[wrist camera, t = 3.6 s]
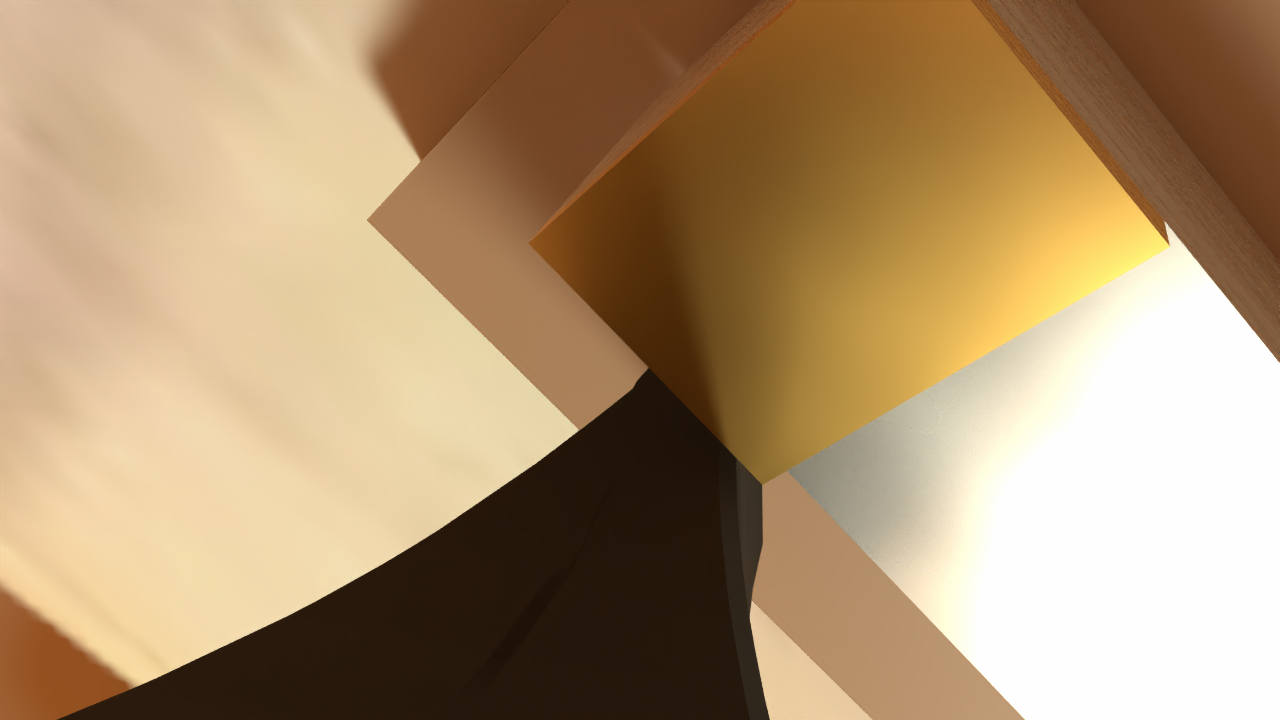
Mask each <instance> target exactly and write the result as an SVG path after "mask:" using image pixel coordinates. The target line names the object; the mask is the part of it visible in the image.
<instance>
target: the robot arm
mask: <svg viewBox="0 0 1280 720" xmlns="http://www.w3.org/2000/svg"><path fill="white" fill-rule="evenodd" d="M762 545H763V506H762V484H761V483H760V482H759V481H758V480H757V479H756V478H755V477H754V476H753V475H752V474H751V473H750V472H749V470H748V469H747V468H746V467H745V466H744V465H743V464H742V463H741V462H740V461H739V460H738V459H737V458H736V457H735V456H734V455H733V454H732V453H731V452H730V451H729V450H728V449H727V448H726V447H725V446H724V445H723V444H722V443H721V442H720V441H719V440H718V439H717V437H716V436H715V435H714V434H713V433H712V432H711V431H710V430H709V429H708V428H707V427H706V426H705V425H704V424H703V423H702V422H701V421H700V420H699V419H698V418H697V417H696V416H695V415H694V414H693V413H692V412H691V411H690V410H689V409H688V408H687V407H686V405H685V404H684V403H683V402H682V401H681V400H680V399H679V398H678V397H677V396H676V395H675V394H674V393H673V392H672V391H671V390H670V389H669V388H668V387H667V386H666V385H665V384H664V383H663V382H662V381H661V380H660V379H659V378H658V377H657V376H656V375H655V374H654V372H653V371H652V370H651V369H650V368H648V369H647V370H646V371H645V372H644V373H643V375H642V376H641V377H640V378H639V379H638V380H637V382H636V383H635V385H634V387H633V389H631V390H630V391H629V392H628V393H626V394H625V395H624V396H623V397H621V398H620V399H619V400H618V401H616V402H615V403H614V404H613V405H611V406H610V407H609V408H608V409H606V410H605V411H604V412H603V413H601V414H600V415H599V416H598V417H596V418H595V419H594V420H592V421H591V422H590V423H588V424H587V425H586V426H585V427H583V428H582V429H581V430H579V431H578V432H577V433H575V434H574V435H573V436H572V437H570V438H569V439H568V440H566V441H565V442H564V443H562V444H561V445H560V446H558V447H557V448H556V449H555V450H553V451H552V452H551V453H549V454H548V455H547V456H545V457H544V458H543V459H541V460H540V461H539V462H537V463H536V464H535V465H533V466H532V467H530V468H529V469H527V470H526V471H524V472H523V473H521V474H520V475H519V476H517V477H516V478H514V479H513V480H511V481H510V482H508V483H507V484H505V485H504V486H502V487H501V488H500V489H498V490H497V491H495V492H494V493H492V494H491V495H489V496H488V497H486V498H485V499H483V500H482V501H481V502H479V503H478V504H476V505H475V506H473V507H472V508H470V509H469V510H467V511H466V512H464V513H463V514H462V515H460V516H459V517H457V518H456V519H454V520H453V521H451V522H450V523H448V524H447V525H445V526H444V527H443V528H441V529H440V530H438V531H436V532H435V533H433V534H432V535H430V536H428V537H427V538H425V539H424V540H422V541H420V542H419V543H417V544H416V545H414V546H412V547H411V548H409V549H407V550H406V551H404V552H402V553H401V554H399V555H397V556H396V557H394V558H392V559H391V560H389V561H387V562H386V563H384V564H382V565H381V566H379V567H377V568H375V569H373V570H372V571H370V572H368V573H366V574H364V575H363V576H361V577H359V578H357V579H355V580H354V581H352V582H350V583H348V584H346V585H345V586H343V587H341V588H339V589H337V590H336V591H334V592H332V593H330V594H328V595H327V596H325V597H323V598H321V599H319V600H318V601H316V602H314V603H312V604H310V605H308V606H306V607H304V608H302V609H300V610H299V611H297V612H295V613H293V614H291V615H289V616H287V617H285V618H283V619H281V620H278V621H276V622H274V623H272V624H270V625H268V626H266V627H264V628H262V629H259V630H257V631H255V632H253V633H251V634H249V635H247V636H245V637H243V638H240V639H238V640H236V641H234V642H232V643H230V644H228V645H226V646H224V647H221V648H219V649H217V650H215V651H213V652H211V653H209V654H207V655H205V656H202V657H200V658H198V659H196V660H194V661H192V662H190V663H188V664H186V665H183V666H181V667H179V668H177V669H175V670H173V671H171V672H169V673H167V674H164V675H162V676H160V677H158V678H156V679H154V680H151V681H149V682H147V683H144V684H142V685H140V686H137V687H135V688H133V689H130V690H128V691H126V692H123V693H121V694H118V695H116V696H114V697H111V698H109V699H106V700H104V701H101V702H99V703H96V704H94V705H92V706H89V707H87V708H85V709H82V710H80V711H77V712H75V713H72V714H70V715H68V716H65V717H62V718H60V719H58V720H770V719H769V715H768V710H767V706H766V702H765V698H764V693H763V687H762V682H761V677H760V672H759V667H758V662H757V657H756V652H755V647H754V641H753V636H752V630H751V624H750V618H749V617H750V608H751V600H752V593H753V586H754V582H755V577H756V573H757V568H758V563H759V559H760V554H761V550H762Z"/></svg>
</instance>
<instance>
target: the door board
mask: <svg viewBox="0 0 1280 720" xmlns="http://www.w3.org/2000/svg"><path fill="white" fill-rule="evenodd" d="M760 1H761V0H570V1H569V2H568V3H567V4H566V5H565V6H564V7H563V9H562V10H561V11H560V12H559V13H558V14H557V15H556V16H555V17H554V18H553V19H552V20H551V22H550V23H549V24H548V25H547V26H546V27H545V28H544V29H543V30H542V31H541V32H540V33H539V34H538V36H537V37H536V38H535V39H534V40H533V41H532V42H531V43H530V44H529V45H528V46H527V47H526V49H525V50H524V51H523V52H522V53H521V54H520V55H519V56H518V57H517V58H516V59H515V60H514V62H513V63H512V64H511V65H510V66H509V67H508V68H507V69H506V70H505V71H504V72H503V73H502V74H501V76H500V77H499V78H498V79H497V80H496V81H495V82H494V83H493V84H492V85H491V86H490V87H489V89H488V90H487V91H486V92H485V93H484V94H483V95H482V96H481V97H480V98H479V99H478V100H477V102H476V103H475V104H474V105H473V106H472V107H471V108H470V109H469V110H468V111H467V112H466V113H465V114H464V116H463V117H462V118H461V119H460V120H459V121H458V122H457V123H456V124H455V125H454V126H453V127H452V129H451V130H450V131H449V132H448V133H447V134H446V135H445V136H444V137H443V138H442V139H441V140H440V142H439V143H438V144H437V145H436V146H435V147H434V148H433V149H432V150H431V151H430V152H429V153H428V154H427V156H426V157H425V158H424V159H423V160H422V161H421V162H420V163H419V164H418V165H417V166H416V167H415V169H414V170H413V171H412V172H411V173H410V174H409V175H408V176H407V177H406V178H405V179H404V180H403V182H402V183H401V184H400V185H399V186H398V187H397V188H396V189H395V190H394V191H393V192H392V193H391V194H390V196H389V197H388V198H387V199H386V200H385V201H384V202H383V203H382V204H381V205H380V206H379V207H378V209H377V210H376V211H375V212H374V213H373V214H372V215H371V216H370V217H369V218H368V219H367V221H368V222H369V223H370V224H371V225H372V226H373V227H374V228H375V229H376V230H377V231H378V232H379V233H380V234H381V235H382V236H383V237H384V238H385V239H386V240H387V241H388V242H390V243H391V244H392V245H393V246H394V247H395V248H396V249H397V250H398V251H399V252H400V253H401V254H402V255H403V256H404V257H405V258H406V259H407V260H408V261H409V262H410V263H411V264H412V265H413V266H414V267H415V268H416V269H417V270H418V271H419V272H420V273H421V274H422V275H423V276H424V277H425V278H426V279H427V280H428V281H429V282H430V283H431V284H432V285H433V286H434V287H435V288H436V289H437V290H438V291H439V292H440V293H441V294H442V295H443V296H444V297H445V298H446V299H447V300H448V301H449V302H450V303H451V304H452V305H453V306H454V307H455V308H456V309H457V310H458V311H459V312H460V313H461V314H462V315H463V316H464V317H465V318H466V319H468V320H469V321H470V322H471V323H472V324H473V325H474V326H475V327H476V328H477V329H478V330H479V331H480V332H481V333H482V334H483V335H484V336H485V337H486V338H487V339H488V340H489V341H490V342H491V343H492V344H493V345H494V346H495V347H496V348H497V349H498V350H499V351H500V352H501V353H502V354H503V355H504V356H505V357H506V358H507V359H508V360H509V361H510V362H511V363H512V364H513V365H514V366H515V367H516V368H517V369H518V370H519V371H520V372H521V373H522V374H523V375H524V376H525V377H526V378H527V379H528V380H529V381H530V382H531V383H532V384H533V385H534V386H535V387H536V388H537V389H538V390H539V391H540V392H541V393H542V394H543V395H544V396H546V397H547V398H548V399H549V400H550V401H551V402H552V403H553V404H554V405H555V406H556V407H557V408H558V409H559V410H560V411H561V412H562V413H563V414H564V415H565V416H566V417H567V418H568V419H569V420H570V421H571V422H572V423H573V424H574V425H575V426H576V427H577V428H578V429H579V430H581V429H582V428H583V427H585V426H586V425H587V424H588V423H590V422H591V421H592V420H594V419H595V418H596V417H598V416H599V415H600V414H601V413H603V412H604V411H605V410H606V409H608V408H609V407H610V406H611V405H613V404H614V403H615V402H616V401H618V400H619V399H620V398H621V397H623V396H624V395H625V394H626V393H628V392H629V391H630V390H631V389H633V387H634V385H635V383H636V382H637V380H638V379H639V378H640V377H641V376H642V375H643V373H644V372H645V371H646V370H647V369H648V368H649V367H648V366H647V365H646V364H645V363H644V362H643V361H642V360H641V359H640V358H639V357H638V356H637V355H636V354H635V353H634V352H633V351H632V350H631V349H630V348H629V347H628V346H627V345H626V344H625V343H624V342H623V340H622V339H621V338H620V337H619V336H618V335H617V334H616V333H615V332H614V331H613V330H612V329H611V328H610V327H609V326H608V325H607V324H606V323H605V322H604V321H603V320H602V319H601V318H600V317H599V316H598V315H597V314H596V313H595V312H594V311H593V310H592V309H591V307H590V306H589V305H588V304H587V303H586V302H585V301H584V300H583V299H582V298H581V297H580V296H579V295H578V294H577V293H576V292H575V291H574V290H573V289H572V288H571V287H570V286H569V285H568V284H567V283H566V282H565V281H564V280H563V279H562V278H561V277H560V275H559V274H558V273H557V272H556V271H555V270H554V269H553V268H552V267H551V266H550V265H549V264H548V263H547V262H546V261H545V260H544V259H543V258H542V257H541V256H540V255H539V254H538V253H537V252H536V251H535V250H534V249H533V248H532V247H531V246H530V245H529V244H528V243H529V242H530V241H531V240H532V238H533V237H534V236H535V235H536V234H537V233H538V232H539V231H540V229H541V228H542V227H543V226H544V225H545V224H546V223H547V222H548V220H549V219H550V218H551V217H552V216H553V215H554V214H555V212H556V211H557V210H558V209H559V208H560V207H561V206H562V205H563V203H564V202H565V201H566V200H567V199H568V198H569V197H570V196H571V194H572V193H573V192H574V191H575V190H576V189H577V188H578V186H579V185H580V184H581V183H582V182H583V181H584V180H585V179H586V177H587V176H588V175H589V174H590V173H591V172H592V171H593V170H594V168H595V167H596V166H597V165H598V164H599V163H600V162H601V160H602V159H603V158H604V157H605V156H606V155H607V154H608V153H609V151H610V150H611V149H612V148H613V147H614V146H615V145H616V144H617V142H618V141H619V140H620V139H621V138H622V137H623V136H624V134H625V133H626V132H627V131H628V130H629V129H630V128H631V127H632V125H633V124H634V123H635V122H636V121H637V120H638V119H639V117H640V116H641V115H642V114H643V113H644V112H645V111H646V110H647V108H648V107H649V106H650V105H651V104H652V103H653V102H654V101H655V99H656V98H657V97H658V96H659V95H660V94H661V93H662V92H663V91H664V90H665V89H666V88H667V87H668V86H669V85H670V84H671V83H672V82H673V81H675V80H676V79H677V78H678V77H679V76H680V75H681V74H682V73H683V72H684V71H685V70H686V69H688V68H689V67H690V66H691V65H692V64H693V63H694V62H695V61H696V60H697V59H698V58H699V57H701V56H702V55H703V54H704V53H705V52H706V51H707V50H708V49H709V48H710V47H711V46H712V45H714V44H715V43H716V42H717V41H718V40H719V39H720V38H721V37H722V36H723V35H724V34H725V33H727V32H728V31H729V30H730V29H731V28H732V27H733V26H734V25H735V24H736V23H737V22H738V21H739V20H741V19H742V18H743V17H744V16H745V15H746V14H747V13H748V12H749V11H750V10H751V9H752V8H754V7H755V6H756V5H757V4H758V3H759V2H760ZM1074 1H1075V2H1076V4H1077V5H1078V6H1079V8H1080V9H1081V10H1082V11H1083V13H1084V14H1085V15H1086V16H1087V18H1088V19H1089V20H1090V22H1091V23H1092V24H1093V25H1094V27H1095V28H1096V29H1097V30H1098V32H1099V33H1100V34H1101V36H1102V37H1103V38H1104V39H1105V41H1106V42H1107V43H1108V44H1109V46H1110V47H1111V48H1112V50H1113V51H1114V52H1115V53H1116V55H1117V56H1118V57H1119V59H1120V60H1121V61H1122V62H1123V64H1124V65H1125V66H1126V67H1127V69H1128V70H1129V71H1130V73H1131V74H1132V75H1133V76H1134V78H1135V79H1136V80H1137V81H1138V83H1139V84H1140V85H1141V87H1142V88H1143V89H1144V90H1145V92H1146V93H1147V94H1148V95H1149V97H1150V98H1151V99H1152V101H1153V102H1154V103H1155V104H1156V106H1157V107H1158V108H1159V109H1160V111H1161V112H1162V113H1163V115H1164V116H1165V117H1166V118H1167V120H1168V121H1169V122H1170V123H1171V125H1172V126H1173V127H1174V129H1175V130H1176V131H1177V132H1178V134H1179V135H1180V136H1181V137H1182V139H1183V140H1184V141H1185V143H1186V144H1187V145H1188V146H1189V148H1190V149H1191V150H1192V152H1193V153H1194V154H1195V155H1196V157H1197V158H1198V159H1199V160H1200V162H1201V163H1202V164H1203V166H1204V167H1205V168H1206V169H1207V171H1208V172H1209V173H1210V174H1211V176H1212V177H1213V178H1214V180H1215V181H1216V182H1217V183H1218V185H1219V186H1220V187H1221V188H1222V190H1223V191H1224V192H1225V194H1226V195H1227V196H1228V197H1229V199H1230V200H1231V201H1232V202H1233V204H1234V205H1235V206H1236V208H1237V209H1238V210H1239V211H1240V213H1241V214H1242V215H1243V216H1244V218H1245V219H1246V220H1247V222H1248V223H1249V224H1250V225H1251V227H1252V228H1253V229H1254V230H1255V232H1256V233H1257V234H1258V236H1259V237H1260V238H1261V239H1262V241H1263V242H1264V243H1265V245H1266V246H1267V247H1268V248H1269V250H1270V251H1271V252H1272V253H1273V255H1274V256H1275V257H1276V259H1277V260H1278V261H1279V262H1280V0H1074ZM762 506H763V545H762V550H761V554H760V559H759V563H758V568H757V573H756V577H755V582H754V586H753V593H752V601H753V602H754V603H755V604H756V605H757V606H758V607H759V608H760V609H761V610H762V611H763V612H764V613H765V614H766V615H767V616H768V617H769V618H770V619H771V620H772V621H773V622H774V623H775V624H776V625H778V626H779V627H780V628H781V629H782V630H783V631H784V632H785V633H786V634H787V635H788V636H789V637H790V638H791V639H792V640H793V641H794V642H795V643H796V644H797V645H798V646H799V647H800V648H801V649H802V650H803V651H804V652H805V653H806V654H807V655H808V656H809V657H810V658H811V659H812V660H813V661H814V662H815V663H816V664H817V665H818V666H819V667H820V668H821V669H822V670H823V671H824V672H825V673H826V674H827V675H828V676H829V677H830V678H831V679H832V680H833V681H834V682H835V683H836V684H837V685H838V686H839V687H840V688H841V689H842V690H843V691H844V692H845V693H846V694H847V695H848V696H849V697H850V698H851V699H852V700H853V701H854V702H856V703H857V704H858V705H859V706H860V707H861V708H862V709H863V710H864V711H865V712H866V713H867V714H868V715H869V716H870V717H871V718H872V719H873V720H1025V719H1024V718H1023V717H1022V715H1021V714H1020V713H1019V712H1018V711H1017V710H1016V709H1015V708H1014V707H1013V706H1012V705H1011V704H1010V703H1009V702H1008V701H1007V700H1006V699H1005V698H1004V697H1003V696H1002V695H1001V694H1000V693H999V692H998V690H997V689H996V688H995V687H994V686H993V685H992V684H991V683H990V682H989V681H988V680H987V679H986V678H985V677H984V676H983V675H982V674H981V673H980V672H979V671H978V670H977V669H976V668H975V666H974V665H973V664H972V663H971V662H970V661H969V660H968V659H967V658H966V657H965V656H964V655H963V654H962V653H961V652H960V651H959V650H958V649H957V648H956V647H955V646H954V645H953V644H952V643H951V641H950V640H949V639H948V638H947V637H946V636H945V635H944V634H943V633H942V632H941V631H940V630H939V629H938V628H937V627H936V626H935V625H934V624H933V623H932V622H931V621H930V620H929V619H928V617H927V616H926V615H925V614H924V613H923V612H922V611H921V610H920V609H919V608H918V607H917V606H916V605H915V604H914V603H913V602H912V601H911V600H910V599H909V598H908V597H907V596H906V595H905V594H904V592H903V591H902V590H901V589H900V588H899V587H898V586H897V585H896V584H895V583H894V582H893V581H892V580H891V579H890V578H889V577H888V576H887V575H886V574H885V573H884V572H883V571H882V570H881V568H880V567H879V566H878V565H877V564H876V563H875V562H874V561H873V560H872V559H871V558H870V557H869V556H868V555H867V554H866V553H865V552H864V551H863V550H862V549H861V548H860V547H859V546H858V545H857V543H856V542H855V541H854V540H853V539H852V538H851V537H850V536H849V535H848V534H847V533H846V532H845V531H844V530H843V529H842V528H841V527H840V526H839V525H838V524H837V523H836V522H835V521H834V519H833V518H832V517H831V516H830V515H829V514H828V513H827V512H826V511H825V510H824V509H823V508H822V507H821V506H820V505H819V504H818V503H817V502H816V501H815V500H814V499H813V498H812V497H811V496H810V494H809V493H808V492H807V491H806V490H805V489H804V488H803V487H802V486H801V485H800V484H799V483H798V482H797V481H796V480H795V479H794V478H793V477H792V476H791V475H790V474H789V473H788V472H787V471H786V472H784V473H782V474H781V475H779V476H777V477H776V478H774V479H772V480H770V481H769V482H767V483H765V484H764V485H762Z"/></svg>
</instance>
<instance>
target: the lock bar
mask: <svg viewBox="0 0 1280 720" xmlns="http://www.w3.org/2000/svg"><path fill="white" fill-rule="evenodd" d="M528 244H529V245H530V246H531V247H532V248H533V249H534V250H535V251H536V252H537V253H538V254H539V255H540V256H541V257H542V258H543V259H544V260H545V261H546V262H547V263H548V264H549V265H550V266H551V267H552V268H553V269H554V270H555V271H556V272H557V273H558V274H559V275H560V277H561V278H562V279H563V280H564V281H565V282H566V283H567V284H568V285H569V286H570V287H571V288H572V289H573V290H574V291H575V292H576V293H577V294H578V295H579V296H580V297H581V298H582V299H583V300H584V301H585V302H586V303H587V304H588V305H589V306H590V307H591V309H592V310H593V311H594V312H595V313H596V314H597V315H598V316H599V317H600V318H601V319H602V320H603V321H604V322H605V323H606V324H607V325H608V326H609V327H610V328H611V329H612V330H613V331H614V332H615V333H616V334H617V335H618V336H619V337H620V338H621V339H622V340H623V342H624V343H625V344H626V345H627V346H628V347H629V348H630V349H631V350H632V351H633V352H634V353H635V354H636V355H637V356H638V357H639V358H640V359H641V360H642V361H643V362H644V363H645V364H646V365H647V366H648V367H649V368H650V369H651V370H652V371H653V372H654V374H655V375H656V376H657V377H658V378H659V379H660V380H661V381H662V382H663V383H664V384H665V385H666V386H667V387H668V388H669V389H670V390H671V391H672V392H673V393H674V394H675V395H676V396H677V397H678V398H679V399H680V400H681V401H682V402H683V403H684V404H685V405H686V407H687V408H688V409H689V410H690V411H691V412H692V413H693V414H694V415H695V416H696V417H697V418H698V419H699V420H700V421H701V422H702V423H703V424H704V425H705V426H706V427H707V428H708V429H709V430H710V431H711V432H712V433H713V434H714V435H715V436H716V437H717V439H718V440H719V441H720V442H721V443H722V444H723V445H724V446H725V447H726V448H727V449H728V450H729V451H730V452H731V453H732V454H733V455H734V456H735V457H736V458H737V459H738V460H739V461H740V462H741V463H742V464H743V465H744V466H745V467H746V468H747V469H748V470H749V472H750V473H751V474H752V475H753V476H754V477H755V478H756V479H757V480H758V481H759V482H760V483H761V484H762V485H764V484H765V483H767V482H769V481H770V480H772V479H774V478H776V477H777V476H779V475H781V474H782V473H784V472H786V471H787V472H788V473H789V474H790V475H791V476H792V477H793V478H794V479H795V480H796V481H797V482H798V483H799V484H800V485H801V486H802V487H803V488H804V489H805V490H806V491H807V492H808V493H809V494H810V496H811V497H812V498H813V499H814V500H815V501H816V502H817V503H818V504H819V505H820V506H821V507H822V508H823V509H824V510H825V511H826V512H827V513H828V514H829V515H830V516H831V517H832V518H833V519H834V521H835V522H836V523H837V524H838V525H839V526H840V527H841V528H842V529H843V530H844V531H845V532H846V533H847V534H848V535H849V536H850V537H851V538H852V539H853V540H854V541H855V542H856V543H857V545H858V546H859V547H860V548H861V549H862V550H863V551H864V552H865V553H866V554H867V555H868V556H869V557H870V558H871V559H872V560H873V561H874V562H875V563H876V564H877V565H878V566H879V567H880V568H881V570H882V571H883V572H884V573H885V574H886V575H887V576H888V577H889V578H890V579H891V580H892V581H893V582H894V583H895V584H896V585H897V586H898V587H899V588H900V589H901V590H902V591H903V592H904V594H905V595H906V596H907V597H908V598H909V599H910V600H911V601H912V602H913V603H914V604H915V605H916V606H917V607H918V608H919V609H920V610H921V611H922V612H923V613H924V614H925V615H926V616H927V617H928V619H929V620H930V621H931V622H932V623H933V624H934V625H935V626H936V627H937V628H938V629H939V630H940V631H941V632H942V633H943V634H944V635H945V636H946V637H947V638H948V639H949V640H950V641H951V643H952V644H953V645H954V646H955V647H956V648H957V649H958V650H959V651H960V652H961V653H962V654H963V655H964V656H965V657H966V658H967V659H968V660H969V661H970V662H971V663H972V664H973V665H974V666H975V668H976V669H977V670H978V671H979V672H980V673H981V674H982V675H983V676H984V677H985V678H986V679H987V680H988V681H989V682H990V683H991V684H992V685H993V686H994V687H995V688H996V689H997V690H998V692H999V693H1000V694H1001V695H1002V696H1003V697H1004V698H1005V699H1006V700H1007V701H1008V702H1009V703H1010V704H1011V705H1012V706H1013V707H1014V708H1015V709H1016V710H1017V711H1018V712H1019V713H1020V714H1021V715H1022V717H1023V718H1024V719H1025V720H1280V262H1279V261H1278V260H1277V259H1276V257H1275V256H1274V255H1273V253H1272V252H1271V251H1270V250H1269V248H1268V247H1267V246H1266V245H1265V243H1264V242H1263V241H1262V239H1261V238H1260V237H1259V236H1258V234H1257V233H1256V232H1255V230H1254V229H1253V228H1252V227H1251V225H1250V224H1249V223H1248V222H1247V220H1246V219H1245V218H1244V216H1243V215H1242V214H1241V213H1240V211H1239V210H1238V209H1237V208H1236V206H1235V205H1234V204H1233V202H1232V201H1231V200H1230V199H1229V197H1228V196H1227V195H1226V194H1225V192H1224V191H1223V190H1222V188H1221V187H1220V186H1219V185H1218V183H1217V182H1216V181H1215V180H1214V178H1213V177H1212V176H1211V174H1210V173H1209V172H1208V171H1207V169H1206V168H1205V167H1204V166H1203V164H1202V163H1201V162H1200V160H1199V159H1198V158H1197V157H1196V155H1195V154H1194V153H1193V152H1192V150H1191V149H1190V148H1189V146H1188V145H1187V144H1186V143H1185V141H1184V140H1183V139H1182V137H1181V136H1180V135H1179V134H1178V132H1177V131H1176V130H1175V129H1174V127H1173V126H1172V125H1171V123H1170V122H1169V121H1168V120H1167V118H1166V117H1165V116H1164V115H1163V113H1162V112H1161V111H1160V109H1159V108H1158V107H1157V106H1156V104H1155V103H1154V102H1153V101H1152V99H1151V98H1150V97H1149V95H1148V94H1147V93H1146V92H1145V90H1144V89H1143V88H1142V87H1141V85H1140V84H1139V83H1138V81H1137V80H1136V79H1135V78H1134V76H1133V75H1132V74H1131V73H1130V71H1129V70H1128V69H1127V67H1126V66H1125V65H1124V64H1123V62H1122V61H1121V60H1120V59H1119V57H1118V56H1117V55H1116V53H1115V52H1114V51H1113V50H1112V48H1111V47H1110V46H1109V44H1108V43H1107V42H1106V41H1105V39H1104V38H1103V37H1102V36H1101V34H1100V33H1099V32H1098V30H1097V29H1096V28H1095V27H1094V25H1093V24H1092V23H1091V22H1090V20H1089V19H1088V18H1087V16H1086V15H1085V14H1084V13H1083V11H1082V10H1081V9H1080V8H1079V6H1078V5H1077V4H1076V2H1075V1H1074V0H761V1H760V2H759V3H758V4H757V5H756V6H755V7H754V8H752V9H751V10H750V11H749V12H748V13H747V14H746V15H745V16H744V17H743V18H742V19H741V20H739V21H738V22H737V23H736V24H735V25H734V26H733V27H732V28H731V29H730V30H729V31H728V32H727V33H725V34H724V35H723V36H722V37H721V38H720V39H719V40H718V41H717V42H716V43H715V44H714V45H712V46H711V47H710V48H709V49H708V50H707V51H706V52H705V53H704V54H703V55H702V56H701V57H699V58H698V59H697V60H696V61H695V62H694V63H693V64H692V65H691V66H690V67H689V68H688V69H686V70H685V71H684V72H683V73H682V74H681V75H680V76H679V77H678V78H677V79H676V80H675V81H673V82H672V83H671V84H670V85H669V86H668V87H667V88H666V89H665V90H664V91H663V92H662V93H661V94H660V95H659V96H658V97H657V98H656V99H655V101H654V102H653V103H652V104H651V105H650V106H649V107H648V108H647V110H646V111H645V112H644V113H643V114H642V115H641V116H640V117H639V119H638V120H637V121H636V122H635V123H634V124H633V125H632V127H631V128H630V129H629V130H628V131H627V132H626V133H625V134H624V136H623V137H622V138H621V139H620V140H619V141H618V142H617V144H616V145H615V146H614V147H613V148H612V149H611V150H610V151H609V153H608V154H607V155H606V156H605V157H604V158H603V159H602V160H601V162H600V163H599V164H598V165H597V166H596V167H595V168H594V170H593V171H592V172H591V173H590V174H589V175H588V176H587V177H586V179H585V180H584V181H583V182H582V183H581V184H580V185H579V186H578V188H577V189H576V190H575V191H574V192H573V193H572V194H571V196H570V197H569V198H568V199H567V200H566V201H565V202H564V203H563V205H562V206H561V207H560V208H559V209H558V210H557V211H556V212H555V214H554V215H553V216H552V217H551V218H550V219H549V220H548V222H547V223H546V224H545V225H544V226H543V227H542V228H541V229H540V231H539V232H538V233H537V234H536V235H535V236H534V237H533V238H532V240H531V241H530V242H529V243H528Z"/></svg>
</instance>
